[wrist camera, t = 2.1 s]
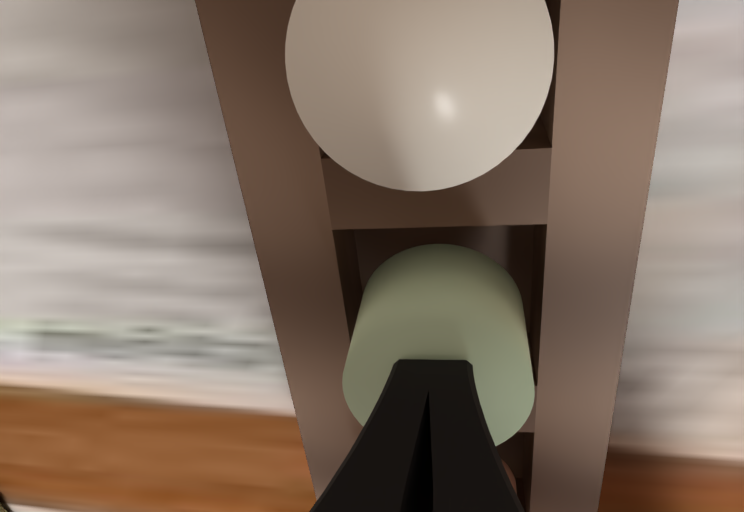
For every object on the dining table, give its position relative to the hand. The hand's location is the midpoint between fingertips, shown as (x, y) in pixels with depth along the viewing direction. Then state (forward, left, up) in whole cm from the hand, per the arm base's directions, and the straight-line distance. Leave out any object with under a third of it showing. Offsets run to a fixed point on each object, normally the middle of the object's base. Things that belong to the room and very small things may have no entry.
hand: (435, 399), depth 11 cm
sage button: (0, 0, -3) cm, 3 cm away
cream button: (+5, +3, -3) cm, 7 cm away
